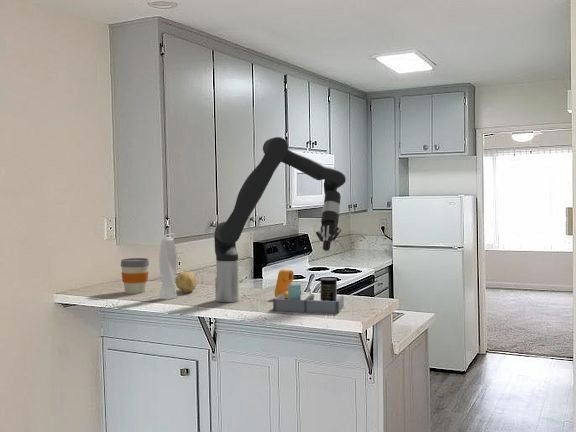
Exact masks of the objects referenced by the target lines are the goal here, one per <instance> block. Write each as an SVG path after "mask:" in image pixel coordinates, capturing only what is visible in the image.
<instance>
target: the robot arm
mask: <svg viewBox="0 0 576 432" xmlns="http://www.w3.org/2000/svg"><path fill="white" fill-rule="evenodd" d="M262 151H263V154H264V155H263V157H262V158H261V160H260V162H259V163H258V165H257V166H255V168H254V169H253V170H252V171H251V173H250V174H249V175H247V178H246V179H245V180H244V183H243V184H242V185H241V188H240V190H239V191H238V194H237V197H236V201H235V204H234V208H233V209H232V212H231V214H230V215H229V216H228V218H227V220H225V221H223V222H219V223H218V224H217V225H216V227H215V229H214V236H213V237H214V253H215V262H216V268H215V269H216V270H215V271H216V274H215V275H216V277H215V279H214V281H215V285H214V287H215V290H214V291H215V297H214V298H215V301H217V303H234V302H235V303H236V302H238V301H239V253H238V250H237V247H236V243H237V242H238V241H239V239H240V238H241V235H242V232H243V231H244V229H245V228H244V227H245V226H246V224H247V222H248V219H249V218H250V216H251V214H252V213H253V211H254V209H255V207H256V206H257V204H258V203H259V201H260V200H261V198H262V196H263V194H264V192H265V190H266V188H267V186H268V185H269V182H270V181H271V179H272V177H273V175H274V173H275V172H276V170H277V168H278V167H279V165H280V164H281V163H283V164H285V165H287V166H290V167H292V168H293V169H296V170H298V171H299V172H301V173H304V174H305V175H307V176H309V177H311V178H312V179H313V180H316V181H322V180H324V181H323V190H324V198H323V199H324V200H323V205H322V212H321V217H320V218H321V219H320V223H321V226H320V228H319V230H318V231H316V232H315V235H316V236H317V238H318V240H319V241H320V242H322V244H323V245H322V249H323V251H325V252H329V251H330V249H331V243H332V242H335V241H336V239H337V238H338V236H339V235H340V233H341V231H342V229H341V228H340V227H338V225H339V219H340V209H341V207H340V205H341V197H342V196H341V193H340V192H339V191H338V189H339V188H340V187H342V186H344V184H346V179H347V178H346V175H345V174H344V173H343V171H340V170H339V169H336V168H333V167H329V166H325V165H323V164H321V163H320V162H318V161H316V160H314V159H312V158H309V157H307V156H304V155H301V154H298V153H296V152H294V151H293V150H291V149H289V144H288V142H287V140H286V139H285V138H284V137H280V136H275V137H271V138H269V139H267V140H266V141H264V143H263V146H262Z"/></svg>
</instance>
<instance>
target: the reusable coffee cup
mask: <svg viewBox="0 0 576 432" xmlns="http://www.w3.org/2000/svg"><path fill="white" fill-rule="evenodd" d="M149 263H150V262H149V258H145V257H143V258H142V257H135V258H134V257H133V258H124V259H123V258H122V259H120V267H121V273H120V274H121V278H122V282H123V285H124V294H127V295H128V294H129V295H138V294H144V293H146V291H147V290H146V287H147V282H148V280H149V279H148V278H149V271H148V270H149V265H150V264H149Z"/></svg>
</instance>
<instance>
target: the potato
mask: <svg viewBox="0 0 576 432" xmlns="http://www.w3.org/2000/svg"><path fill="white" fill-rule="evenodd" d="M197 282H198V281H197V278H196V276H195V274H194V273H193V272H192V271H185V270H184V271H182V272H180V273H179V274H177V276H175V287H176V288H177V289H178V290H179V291H181V292H184V293H190V292H193V291H194V290H195V289H196V287H197V285H198V283H197Z"/></svg>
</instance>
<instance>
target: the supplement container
mask: <svg viewBox="0 0 576 432" xmlns="http://www.w3.org/2000/svg"><path fill="white" fill-rule="evenodd" d="M319 281H320V282H319V283H320V287H319V288H320V294H319V295H320V296H319V297H320V299H319V301H337V299H338V297H337V294H338V293H337V292H338V290H337V289H338V285H337V283H338V281H337V278H334V277H321V278H320V280H319Z"/></svg>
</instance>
